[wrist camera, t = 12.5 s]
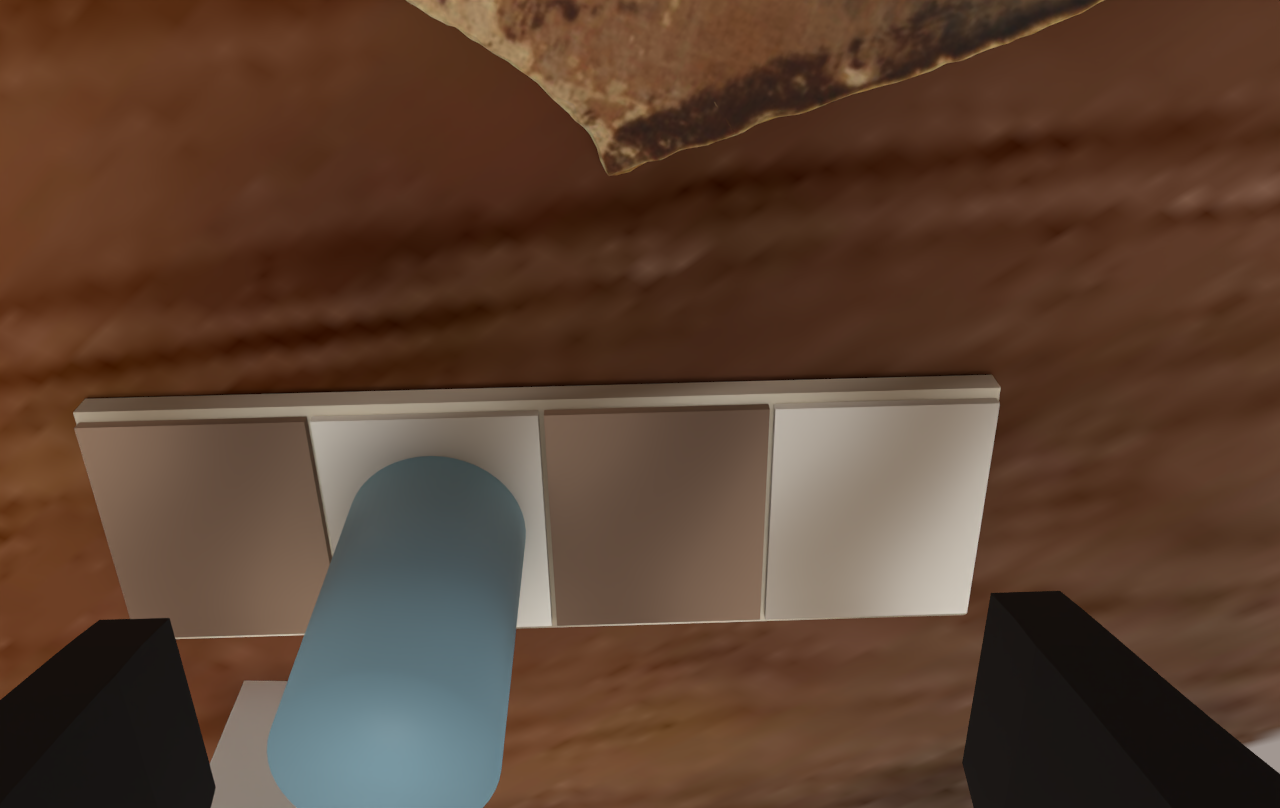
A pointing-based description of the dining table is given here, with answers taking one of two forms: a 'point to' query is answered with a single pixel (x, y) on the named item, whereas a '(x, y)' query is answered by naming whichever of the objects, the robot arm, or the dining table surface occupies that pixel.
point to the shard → (726, 57)
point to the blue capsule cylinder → (407, 647)
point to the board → (563, 496)
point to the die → (248, 751)
